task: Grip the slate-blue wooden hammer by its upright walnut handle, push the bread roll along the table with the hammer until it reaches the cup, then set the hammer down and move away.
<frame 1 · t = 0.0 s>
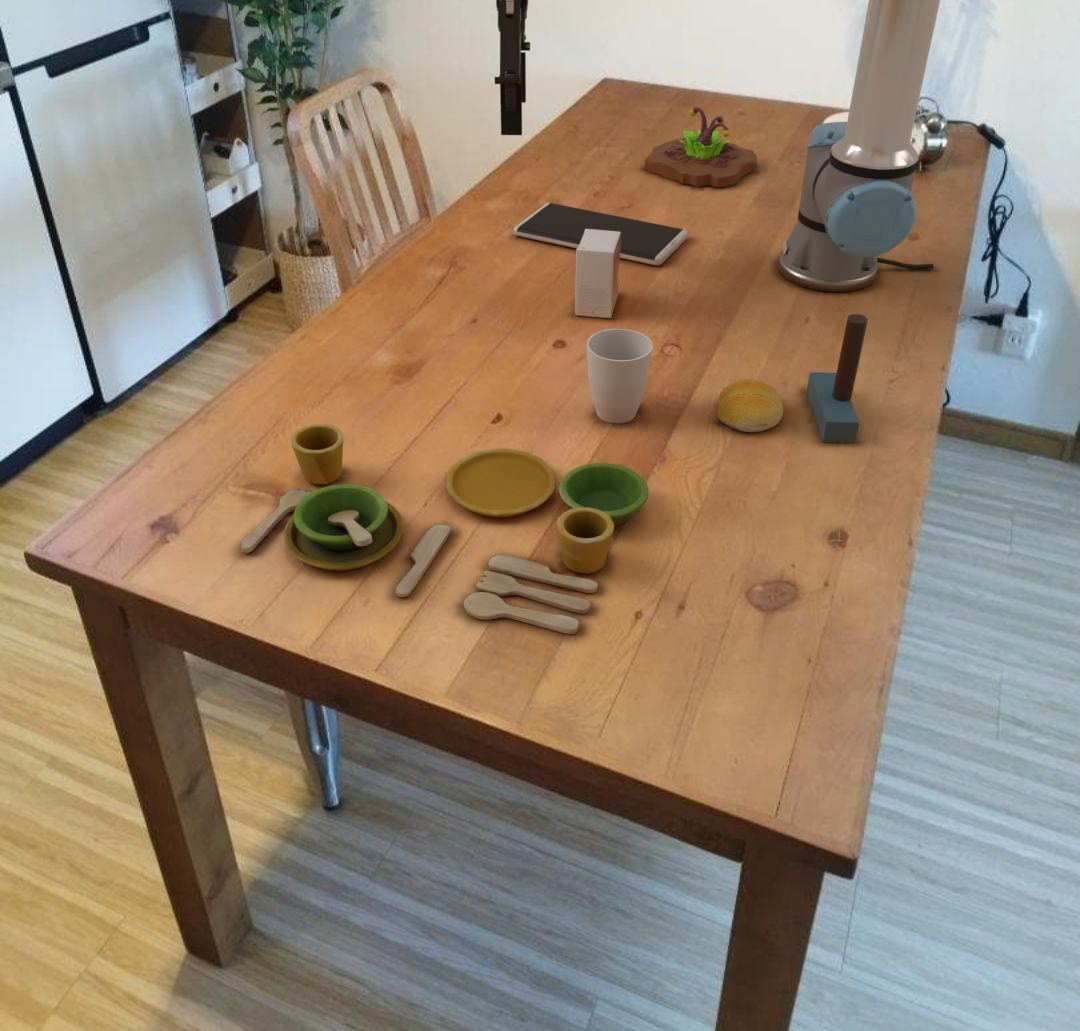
hand: (513, 117, 145), 28 cm above the table, tool pointing down, fingers open, 13 cm apart
smartphone: (600, 239, 182), on the table
bread roll: (747, 416, 138), on the table
plant: (699, 168, 208), on the table
cup: (616, 414, 139), on the table
small box: (596, 307, 162), on the table
tableware set: (450, 521, 121), on the table
hammer: (837, 416, 138), on the table
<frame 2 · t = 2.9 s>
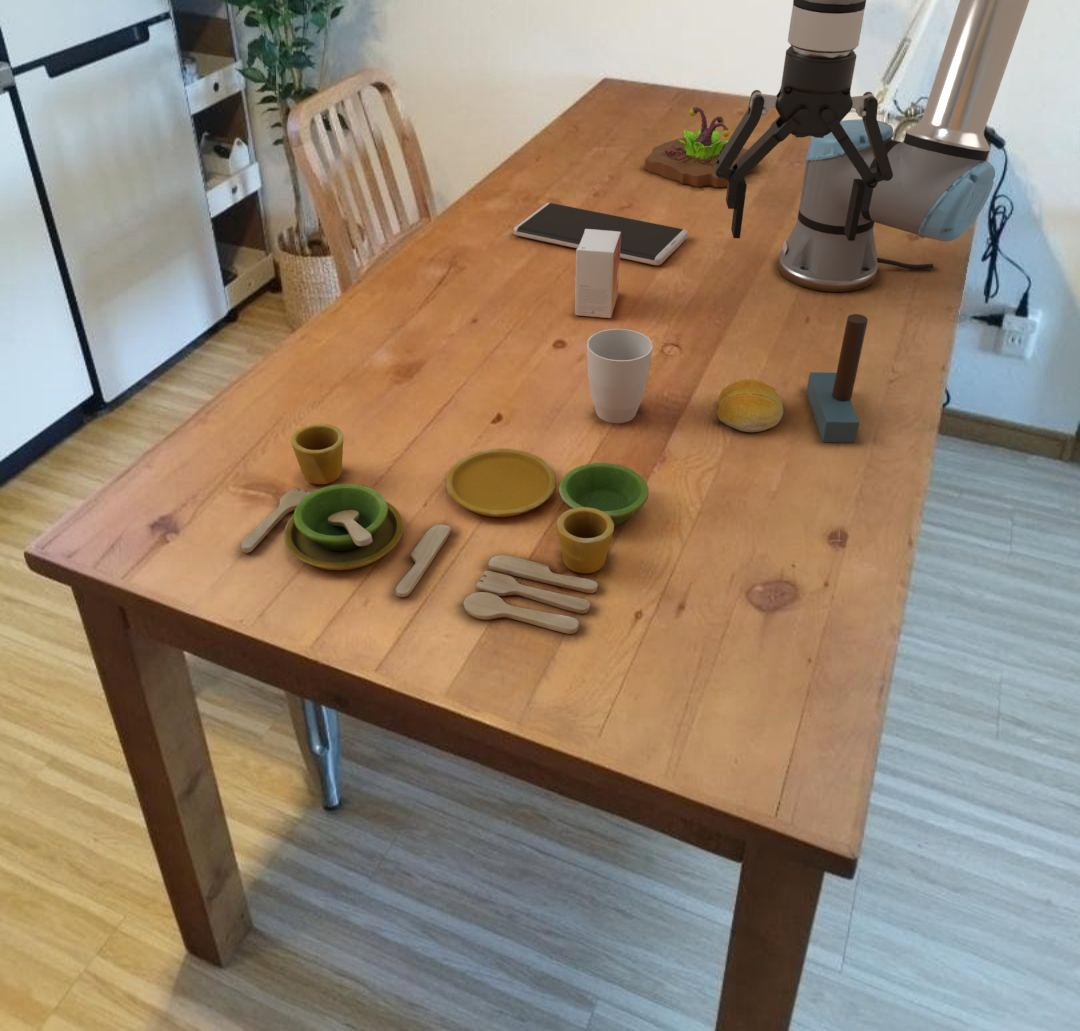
hand: (792, 235, 129), 22 cm above the table, tool pointing down, fingers open, 13 cm apart
nothing on the table moved.
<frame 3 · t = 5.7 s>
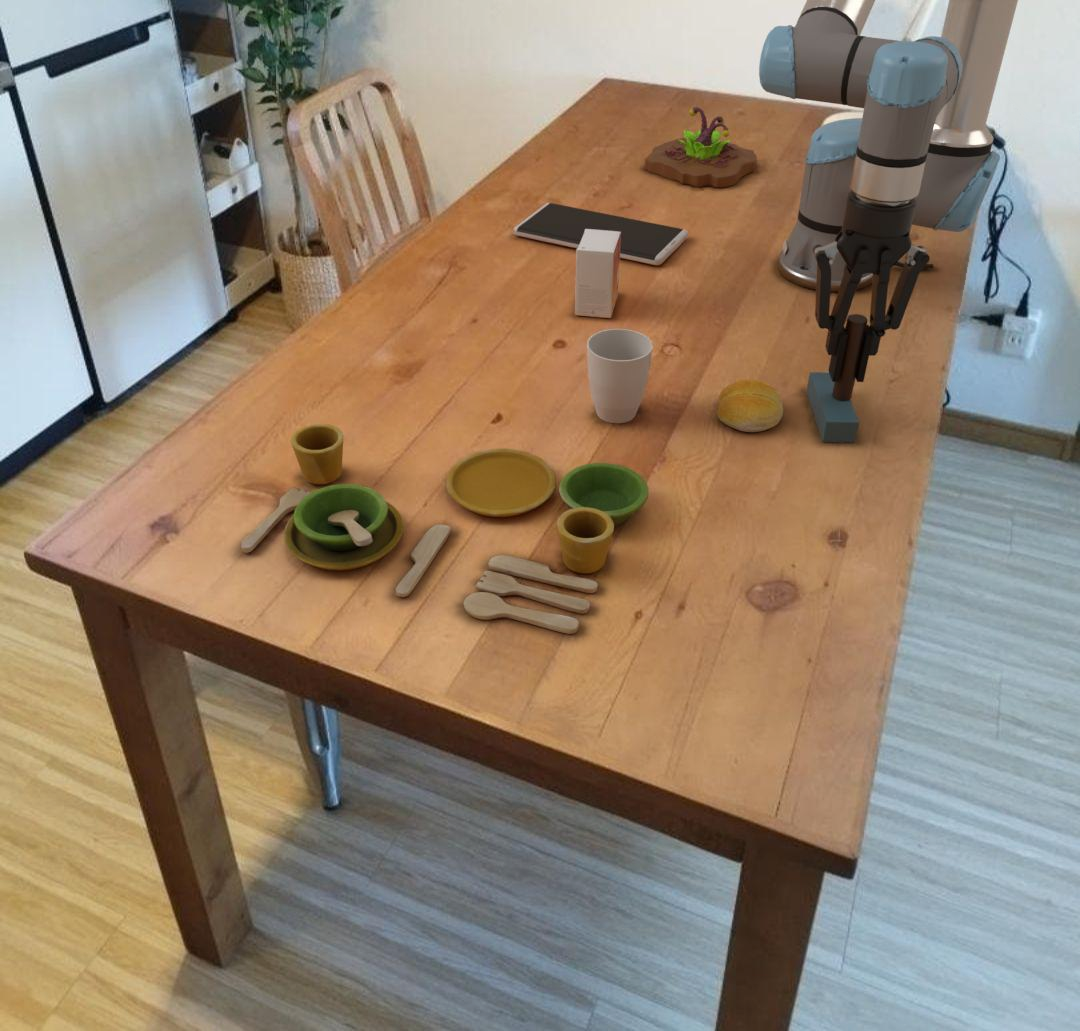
hand: (845, 375, 134), 6 cm above the table, tool pointing down, fingers closed on hammer, 2 cm apart
hammer: (837, 416, 138), on the table, touching gripper
everything else where it was.
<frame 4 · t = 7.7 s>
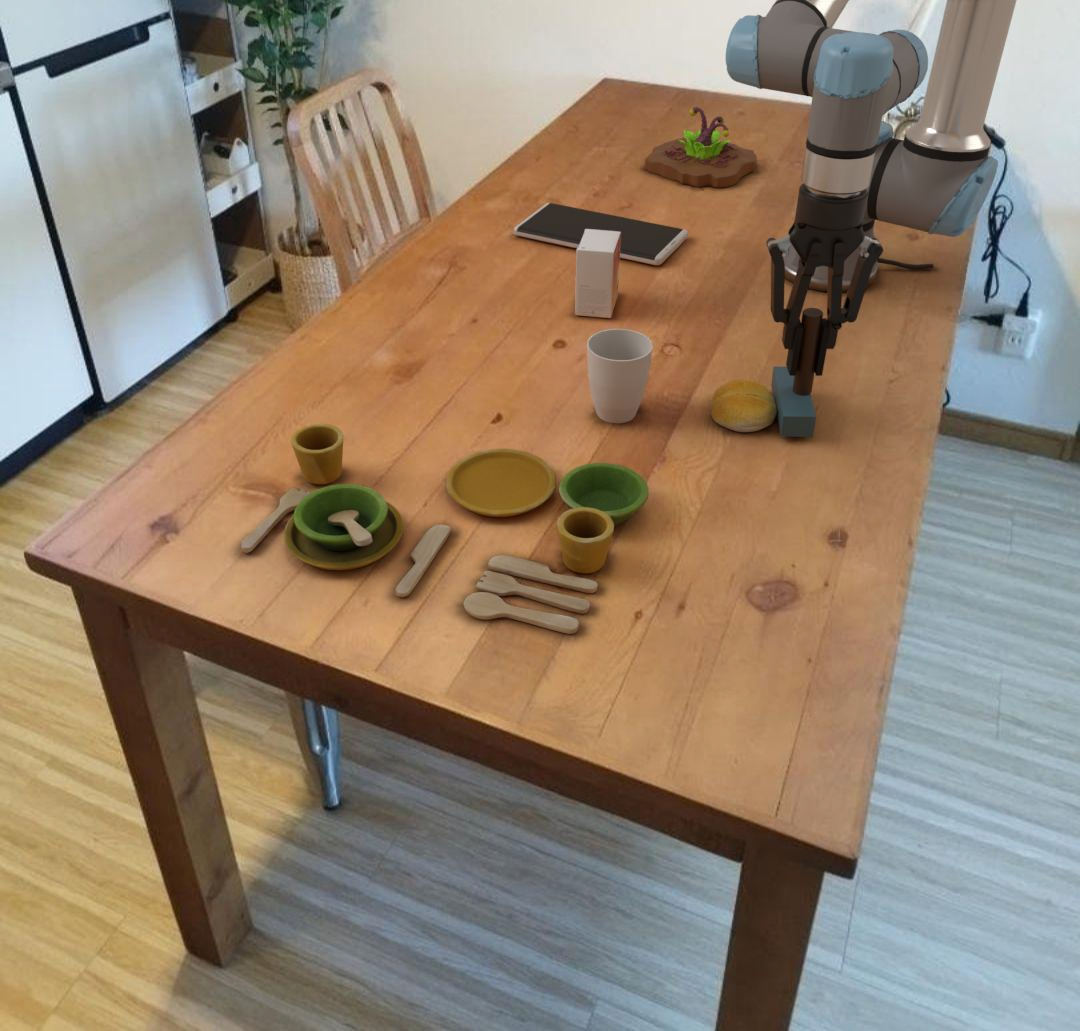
hand: (804, 369, 134), 7 cm above the table, tool pointing down, fingers closed on hammer, 2 cm apart
bread roll: (741, 416, 138), on the table, touching hammer
hammer: (799, 410, 137), point 1 cm above the table, touching bread roll, gripper
everything else where it was.
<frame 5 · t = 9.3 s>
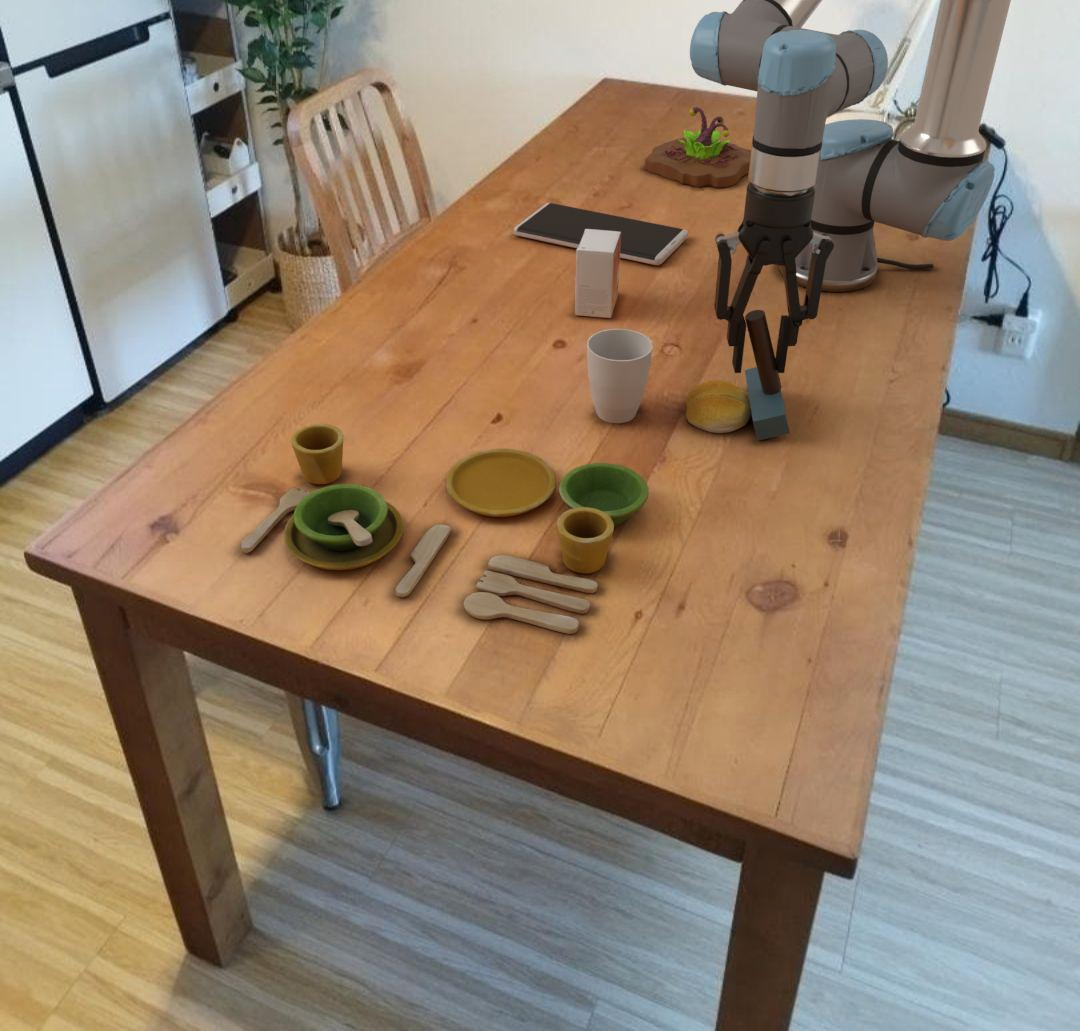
hand: (758, 367, 133), 7 cm above the table, tool pointing down, fingers closed on hammer, 5 cm apart
bread roll: (715, 417, 138), on the table, touching hammer
hammer: (776, 408, 137), point 1 cm above the table, tilted 19°, touching bread roll, gripper
everything else where it was.
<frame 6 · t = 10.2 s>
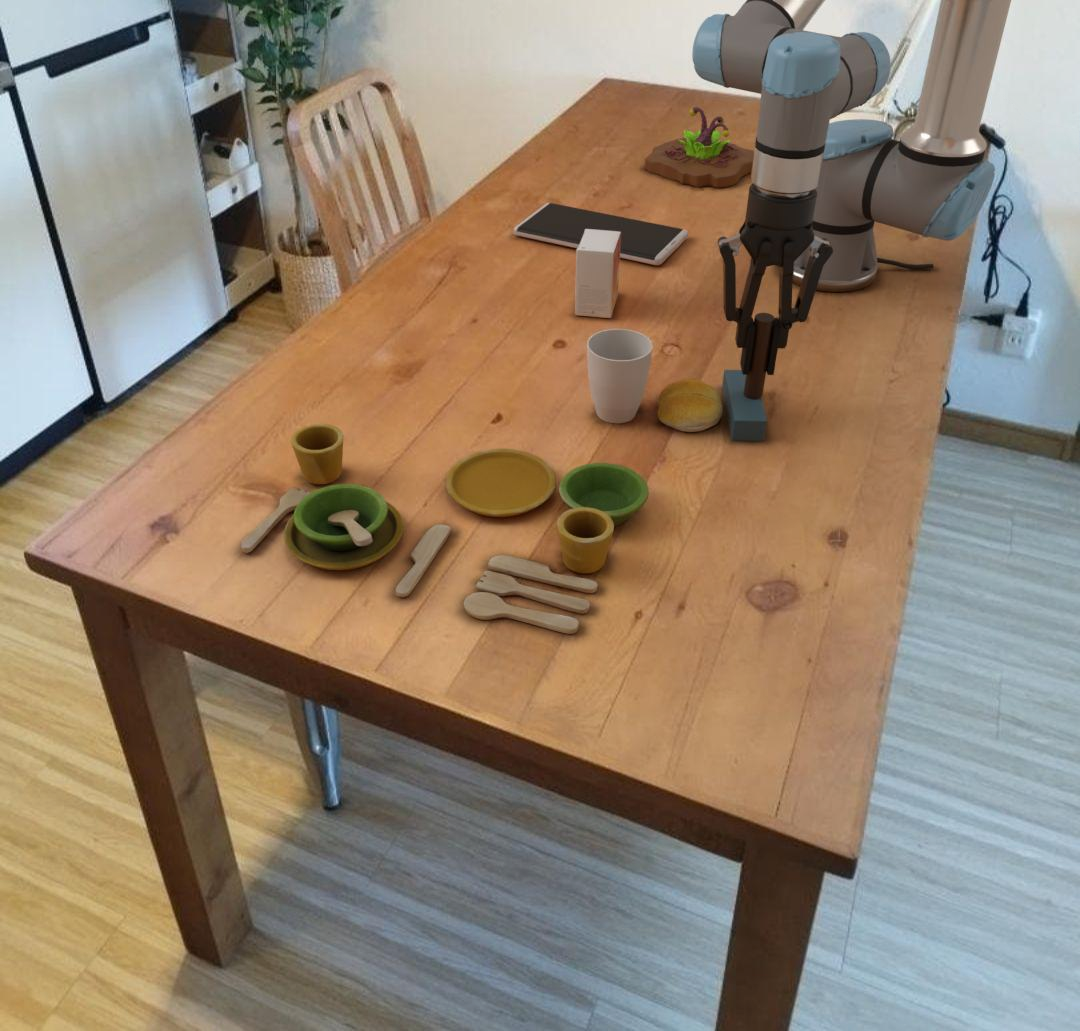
hand: (756, 369, 134), 7 cm above the table, tool pointing down, fingers closed on hammer, 2 cm apart
bread roll: (687, 416, 138), on the table
hammer: (749, 414, 138), on the table, touching gripper
everything else where it was.
when the fingers open (6 cm above the table, at t = 10.9 s): hammer stays where it is, on the table.
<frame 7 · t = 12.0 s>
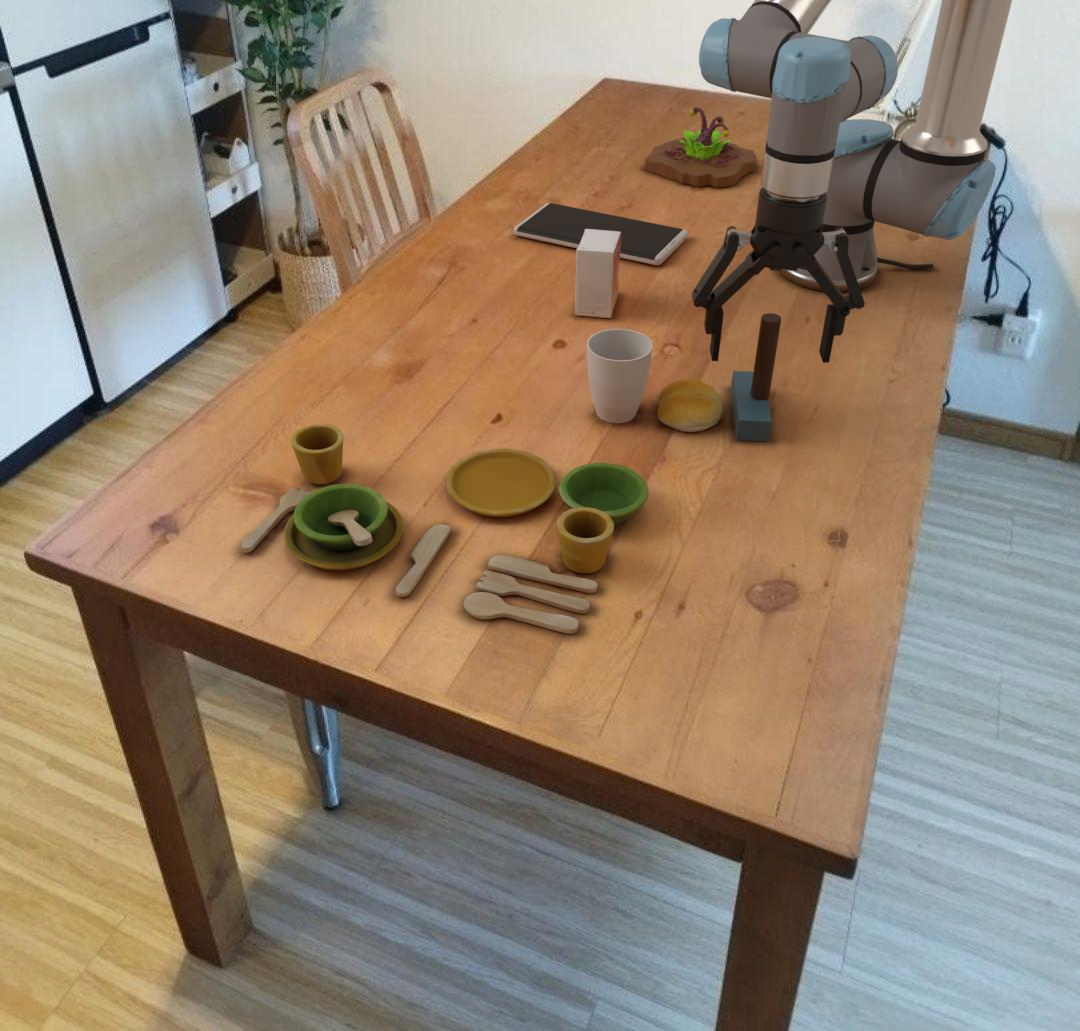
hand: (768, 356, 133), 9 cm above the table, tool pointing down, fingers open, 13 cm apart
hammer: (756, 415, 138), on the table
everything else where it was.
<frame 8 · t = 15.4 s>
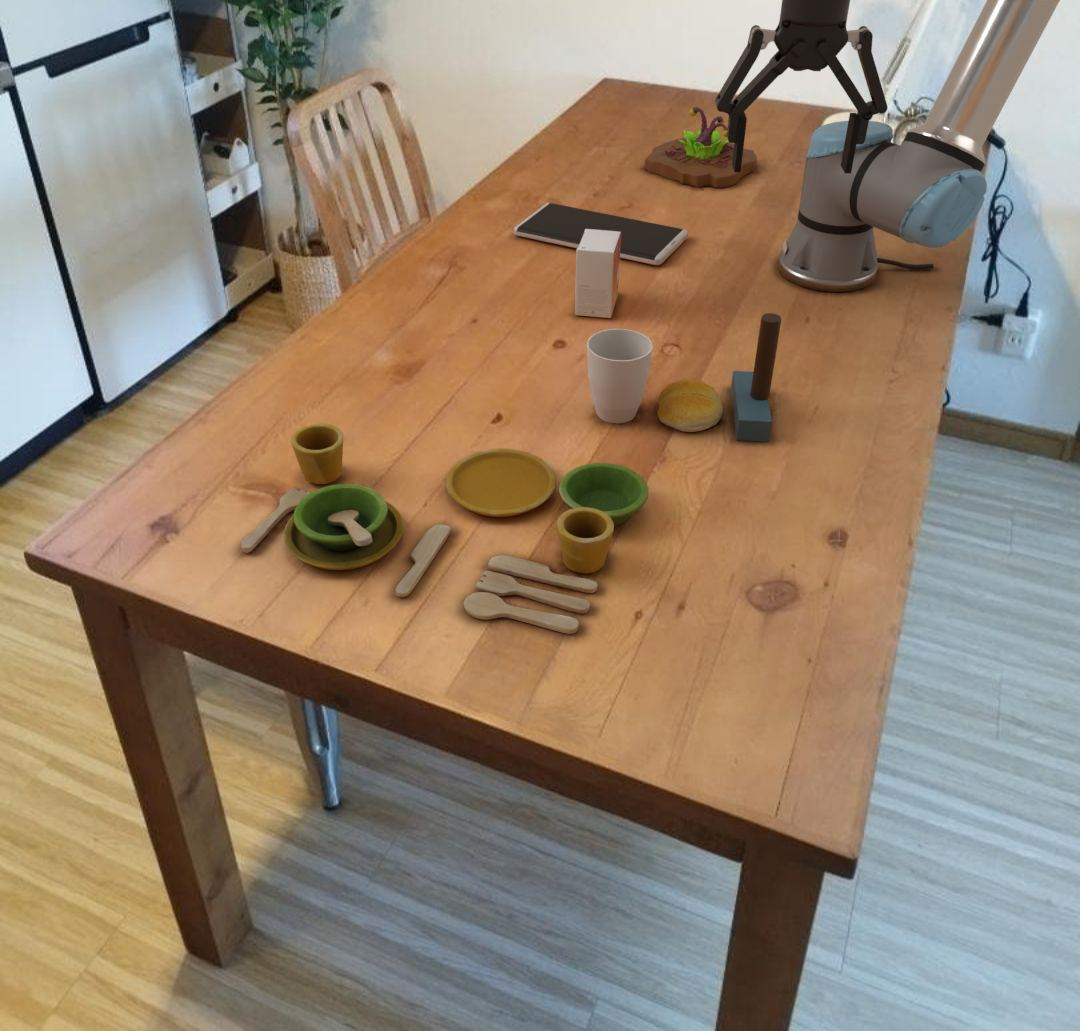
hand: (790, 169, 133), 27 cm above the table, tool pointing down, fingers open, 13 cm apart
nothing on the table moved.
at the end: bread roll 9.3 cm from the cup (horizontally); cup tilted 0°; cup moved 0.2 cm from its start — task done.
